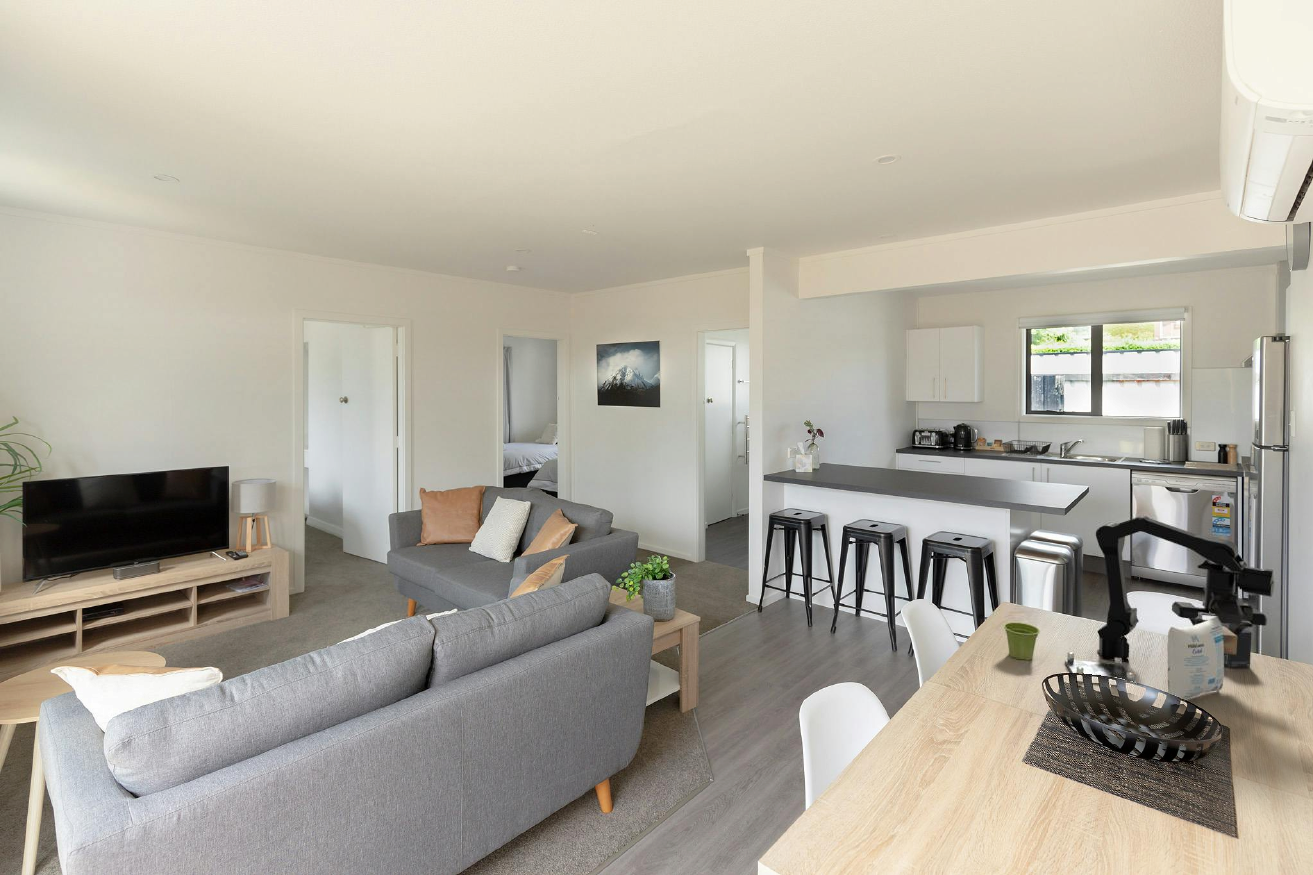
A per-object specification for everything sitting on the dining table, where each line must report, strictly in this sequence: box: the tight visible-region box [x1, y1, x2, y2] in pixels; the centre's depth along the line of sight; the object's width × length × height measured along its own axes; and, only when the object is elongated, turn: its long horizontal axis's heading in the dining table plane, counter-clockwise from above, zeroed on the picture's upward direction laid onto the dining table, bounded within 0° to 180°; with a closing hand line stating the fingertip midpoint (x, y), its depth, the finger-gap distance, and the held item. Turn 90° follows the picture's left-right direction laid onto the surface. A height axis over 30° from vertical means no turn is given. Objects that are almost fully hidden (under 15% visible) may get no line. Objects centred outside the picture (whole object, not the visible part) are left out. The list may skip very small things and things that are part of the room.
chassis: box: [1064, 651, 1137, 684], centre depth 182 cm, size 14×13×3 cm
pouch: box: [1166, 616, 1225, 701], centre depth 167 cm, size 8×19×20 cm, turn 107°
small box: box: [1203, 619, 1253, 669], centre depth 189 cm, size 11×6×10 cm, turn 179°
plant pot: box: [1003, 622, 1040, 661], centre depth 196 cm, size 9×9×9 cm
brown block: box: [1222, 626, 1238, 655], centre depth 176 cm, size 6×7×5 cm
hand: (1215, 644), depth 176 cm, fingers closed on brown block, 6 cm apart
